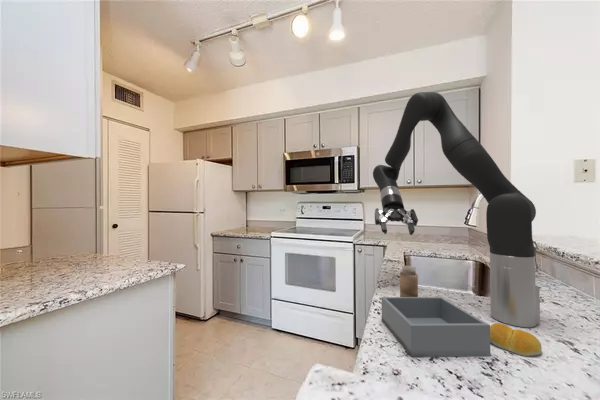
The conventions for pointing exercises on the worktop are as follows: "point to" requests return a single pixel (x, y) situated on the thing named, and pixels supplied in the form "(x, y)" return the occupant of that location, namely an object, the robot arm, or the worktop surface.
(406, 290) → the pepper mill
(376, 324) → the worktop surface
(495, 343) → the bread roll
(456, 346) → the bin
